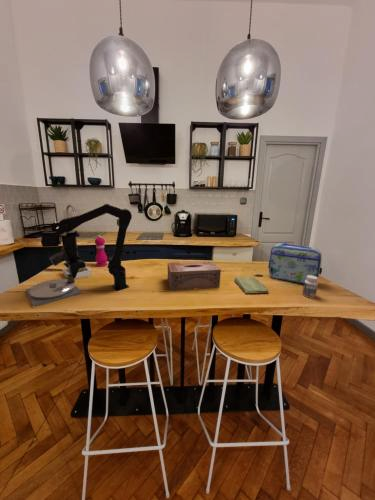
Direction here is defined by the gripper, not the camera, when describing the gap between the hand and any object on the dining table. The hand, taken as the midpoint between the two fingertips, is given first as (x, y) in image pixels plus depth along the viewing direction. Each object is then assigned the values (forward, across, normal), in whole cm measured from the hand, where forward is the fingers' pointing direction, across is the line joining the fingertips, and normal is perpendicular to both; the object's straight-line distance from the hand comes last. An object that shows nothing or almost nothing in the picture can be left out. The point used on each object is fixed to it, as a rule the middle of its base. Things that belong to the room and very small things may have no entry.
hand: (74, 277), depth 100 cm
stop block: (+6, -22, +7) cm, 24 cm away
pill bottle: (+7, +78, +83) cm, 114 cm away
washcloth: (+8, +53, +70) cm, 89 cm away
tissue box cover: (+8, +30, +50) cm, 59 cm away
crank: (+6, -5, -8) cm, 11 cm away
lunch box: (+8, +64, +97) cm, 116 cm away
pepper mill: (+7, -29, +24) cm, 38 cm away
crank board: (+7, -5, -8) cm, 12 cm away
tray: (+7, -22, +7) cm, 24 cm away
